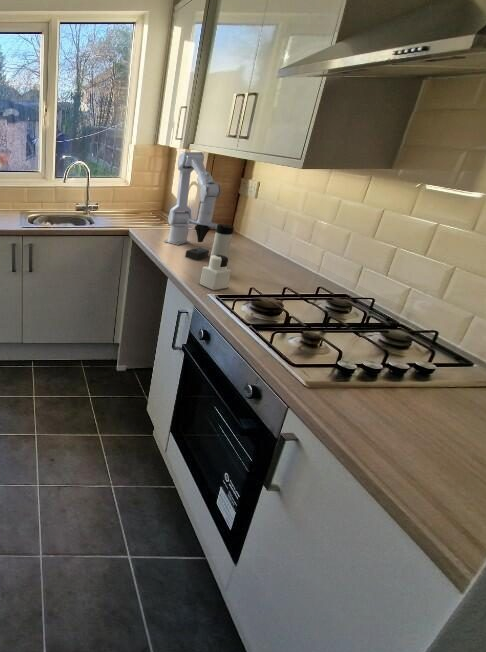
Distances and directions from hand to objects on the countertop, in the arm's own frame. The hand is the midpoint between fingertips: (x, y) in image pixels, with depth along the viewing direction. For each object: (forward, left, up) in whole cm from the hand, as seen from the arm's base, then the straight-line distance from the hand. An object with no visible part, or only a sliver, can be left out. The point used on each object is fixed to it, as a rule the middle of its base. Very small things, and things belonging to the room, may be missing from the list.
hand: (200, 241), depth 189 cm
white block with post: (+29, +24, -7) cm, 38 cm away
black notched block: (+2, 0, -7) cm, 7 cm away
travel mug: (+13, +16, -7) cm, 22 cm away
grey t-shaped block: (-2, 0, -7) cm, 7 cm away
